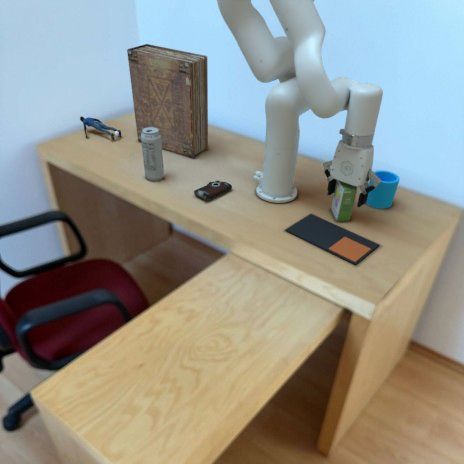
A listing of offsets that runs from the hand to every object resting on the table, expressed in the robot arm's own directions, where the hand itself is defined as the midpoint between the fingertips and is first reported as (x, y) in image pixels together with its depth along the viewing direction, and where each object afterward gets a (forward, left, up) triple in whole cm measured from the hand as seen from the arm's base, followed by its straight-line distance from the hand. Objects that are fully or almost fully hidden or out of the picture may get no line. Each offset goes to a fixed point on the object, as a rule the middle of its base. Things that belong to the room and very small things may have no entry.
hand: (345, 199), depth 123 cm
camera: (-36, -17, -6) cm, 40 cm away
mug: (+2, +17, -6) cm, 18 cm away
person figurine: (-97, -15, -6) cm, 98 cm away
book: (-71, -2, -6) cm, 71 cm away
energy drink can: (-56, -23, -6) cm, 61 cm away
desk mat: (+4, -12, -5) cm, 14 cm away
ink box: (-1, 0, -6) cm, 6 cm away
